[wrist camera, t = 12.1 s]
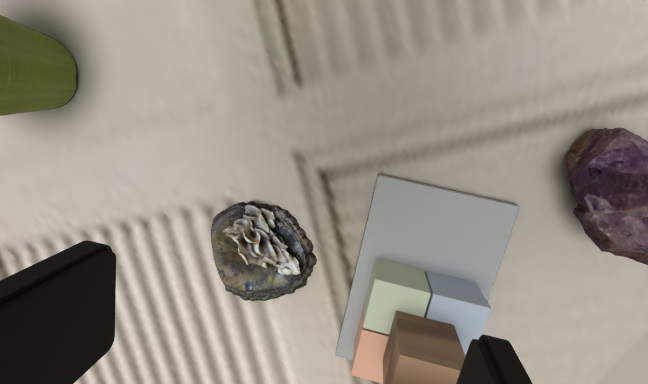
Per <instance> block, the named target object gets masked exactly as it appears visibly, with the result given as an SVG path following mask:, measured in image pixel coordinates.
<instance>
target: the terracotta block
mask: <svg viewBox="0 0 648 384" xmlns="http://www.w3.org/2000/svg"><path fill="white" fill-rule="evenodd" d="M364 304H365V303H364ZM363 318H364V306H363V310H362V314H361V318H360V322H359V326H358V330H357V334H356V338H355V342H354V350H353V359H352V369H351V375H354V376H357V377H361V378H364V379H368V380H371V381H375V382H379V383H382V384H383V356H384V352H385V349H386V345H387V341H388V338H389V334H385V333H381V332H377V331H374V330H370V329H366V328H363Z"/></svg>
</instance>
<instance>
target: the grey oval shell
mask: <svg viewBox="0 0 648 384" xmlns="http://www.w3.org/2000/svg"><path fill="white" fill-rule="evenodd" d="M211 242H212V248H213V256H214V260H215V264H216V267H217V270H218V273H219V275H220V277H221V280H222V282H223V283H224V284H225V287H226V291H230V292H232V293H233V294H234V295H239V296H240V297H241V298H242V299H243V300H251V301H255V300H263V301H266V300H269V299H275V298H278V297H280V296H282V295H285V294H290V293H294V292H295V290H296V289H299V288H301V287H303V286H305V285H306V284H307V278H308V277H309V276H311V273H312V271H313V266H314V265H315V264H316V261H317V259H316V256H315V255H314V254H313V253H312V250H313V245H312V242H311V241H310V240H309V239H308V238H307V237H306V233H305V231H304V230H303V229H302V228H300V226H299V224H298V222H297V220H296V218H295V217H293V216H292V215H291V214H290V213H289V212H288V211H287V210H284V209H282V208H280V207H279V206H275V205H274V206H271V205H268V204H257V203H255V202H253V201H252V202H248V203H244V202H242V203H238V204H236V205H234V206H232V207H230V208H228V209H226V210H224V211H222V212H221V213H219V214H218V215H217V216H216V217H215V218H214V219H213V224H212V229H211Z"/></svg>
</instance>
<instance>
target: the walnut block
mask: <svg viewBox="0 0 648 384" xmlns="http://www.w3.org/2000/svg"><path fill="white" fill-rule="evenodd" d="M464 359H465V354H464V351H463V348H462V346H461V343H460V340H459V337H458V335H457V332H456V329H455V326H454V325H452V324H448V323H444V322H440V321H436V320H432V319H429V318H425V317H421V316H417V315H413V314H409V313H405V312H401V311H397V310H396V311H395V315H394V319H393V323H392V326H391V330H390V334H389V338H388V341H387V345H386V349H385V352H384V356H383V384H456V383H457V380H458V377H459V374H460V371H461V368H462V365H463V362H464Z"/></svg>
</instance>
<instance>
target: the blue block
mask: <svg viewBox="0 0 648 384" xmlns="http://www.w3.org/2000/svg"><path fill="white" fill-rule="evenodd" d="M425 275H426V278H427V282H428V285H429V288H430V292H431V295H430V298H429V302H428V305H427V308H426V312H425V315H424V317H425V318H429V319H432V320H436V321H440V322H444V323H448V324H452V325H454V326H455V329H456V332H457V335H458V337H459V340H460V343H461V346H462V348H463V351H464V354H465V355H466V354H467V351H468V348H469V345H470V342H471V341H472V339H477V340H478V339H479V337H480V336H481V335H482V333H483V331H484V328H485V325H486V322H487V319H488V316H489V313H490V310H491V307H490V306H489V304H488V302H487V301H486V299H485V297H484V296H483V294H482V292H481V291H480V289H479V287H478V285H477V284H476V283H475V282H471V281H467V280H463V279H459V278H455V277H451V276H447V275H443V274H439V273H435V272H431V271H427V270H426V272H425Z"/></svg>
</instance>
